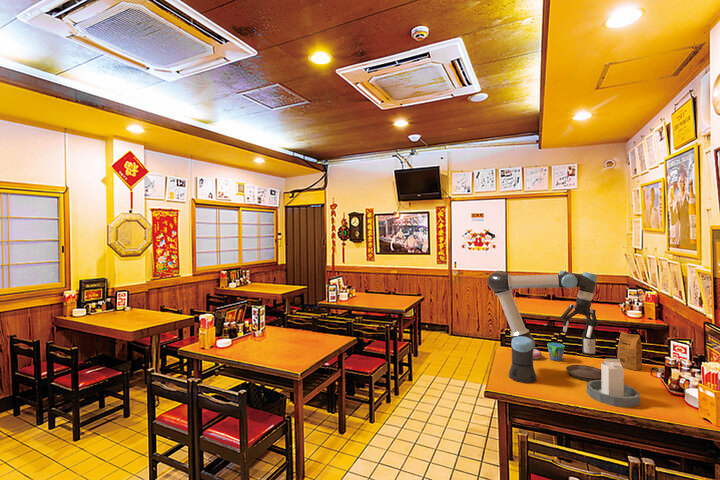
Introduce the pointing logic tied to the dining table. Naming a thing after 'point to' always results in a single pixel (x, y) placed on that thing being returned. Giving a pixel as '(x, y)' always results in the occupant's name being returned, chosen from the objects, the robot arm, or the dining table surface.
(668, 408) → the dining table surface
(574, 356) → the dining table surface
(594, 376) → the plant saucer
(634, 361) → the coffee package
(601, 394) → the bowl
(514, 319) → the robot arm
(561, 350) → the snack cup
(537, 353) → the donut
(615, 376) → the milk carton
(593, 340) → the wine bottle
